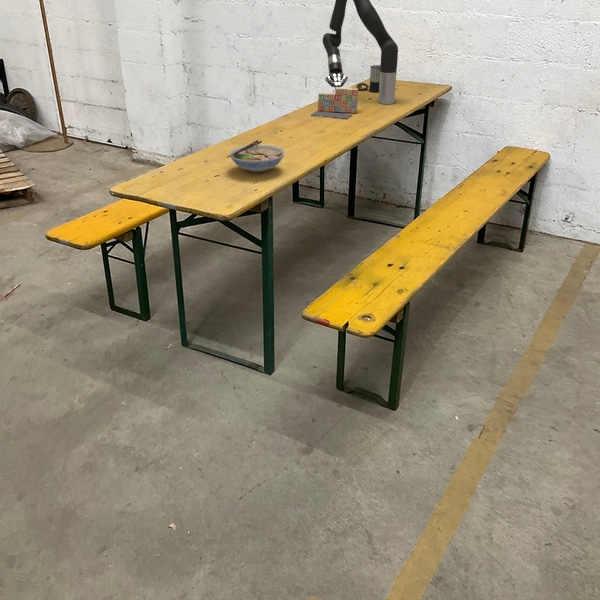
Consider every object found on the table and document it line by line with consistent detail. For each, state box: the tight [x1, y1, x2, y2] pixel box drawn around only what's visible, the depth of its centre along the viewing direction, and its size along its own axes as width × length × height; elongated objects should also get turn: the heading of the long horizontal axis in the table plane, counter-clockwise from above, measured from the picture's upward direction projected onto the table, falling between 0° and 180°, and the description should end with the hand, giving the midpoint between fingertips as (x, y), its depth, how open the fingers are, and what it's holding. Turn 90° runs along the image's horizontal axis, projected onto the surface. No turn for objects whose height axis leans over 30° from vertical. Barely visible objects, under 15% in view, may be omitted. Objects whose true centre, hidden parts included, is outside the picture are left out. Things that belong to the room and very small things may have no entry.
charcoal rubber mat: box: [310, 110, 354, 120], centre depth 335 cm, size 9×21×1 cm, turn 67°
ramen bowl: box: [226, 139, 286, 174], centre depth 256 cm, size 25×23×8 cm
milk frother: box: [356, 64, 381, 94], centre depth 387 cm, size 14×16×15 cm
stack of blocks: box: [317, 86, 359, 114], centre depth 340 cm, size 21×6×12 cm, turn 84°
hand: (338, 92), depth 345 cm, fingers closed
